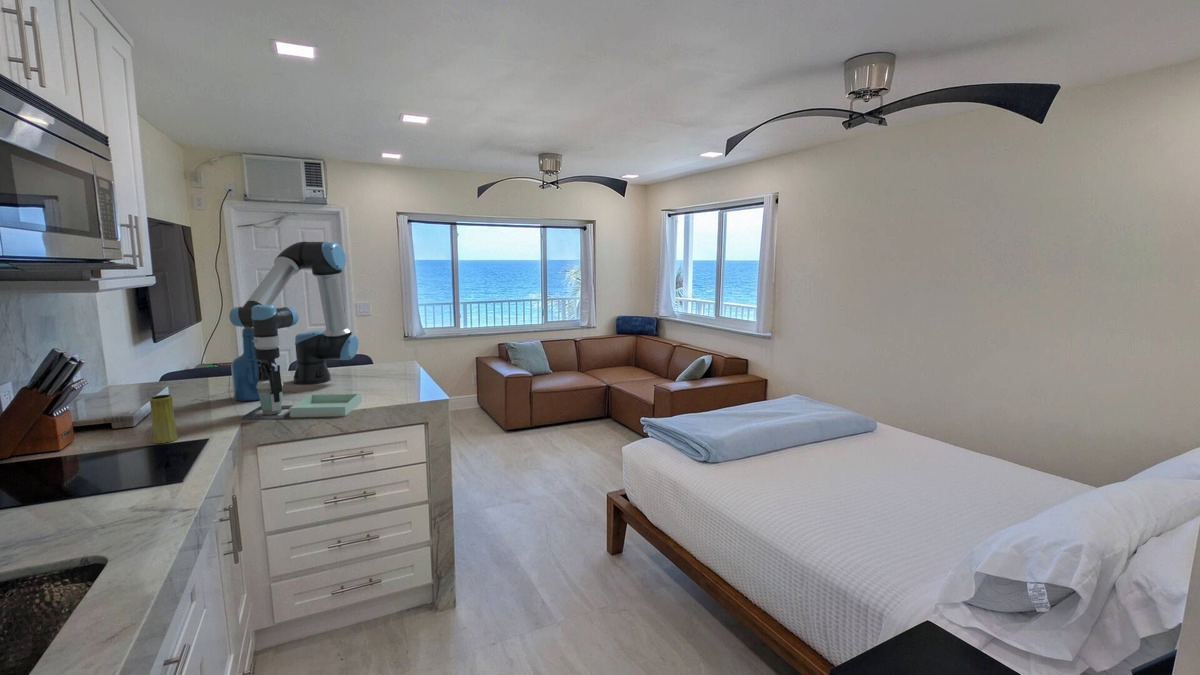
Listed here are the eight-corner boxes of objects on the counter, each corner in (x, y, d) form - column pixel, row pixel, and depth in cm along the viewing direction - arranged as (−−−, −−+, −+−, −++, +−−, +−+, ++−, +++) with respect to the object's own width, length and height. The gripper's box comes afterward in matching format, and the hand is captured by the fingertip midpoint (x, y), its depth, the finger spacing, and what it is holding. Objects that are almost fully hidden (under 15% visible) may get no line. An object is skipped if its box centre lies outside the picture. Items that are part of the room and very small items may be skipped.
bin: (311, 402, 205) (310, 394, 205) (361, 401, 208) (361, 393, 207) (290, 417, 187) (289, 408, 186) (345, 416, 189) (345, 406, 189)
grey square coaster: (261, 408, 196) (260, 405, 196) (300, 407, 199) (299, 405, 198) (241, 419, 183) (241, 417, 183) (283, 418, 185) (283, 416, 185)
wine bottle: (273, 399, 209) (268, 326, 204) (233, 403, 201) (226, 328, 197) (272, 391, 220) (266, 322, 215) (234, 395, 212) (228, 324, 208)
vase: (182, 439, 163) (177, 395, 161) (159, 445, 157) (154, 400, 155) (171, 436, 166) (167, 393, 163) (148, 442, 160) (143, 397, 158)
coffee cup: (283, 407, 197) (281, 377, 195) (287, 413, 190) (284, 381, 188) (257, 411, 191) (254, 380, 189) (259, 417, 185) (257, 384, 183)
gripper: (244, 345, 190) (249, 405, 194) (267, 352, 178) (272, 416, 181) (266, 343, 196) (271, 400, 199) (290, 349, 184) (295, 411, 187)
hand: (271, 407), depth 190 cm, fingers closed on coffee cup, 8 cm apart
